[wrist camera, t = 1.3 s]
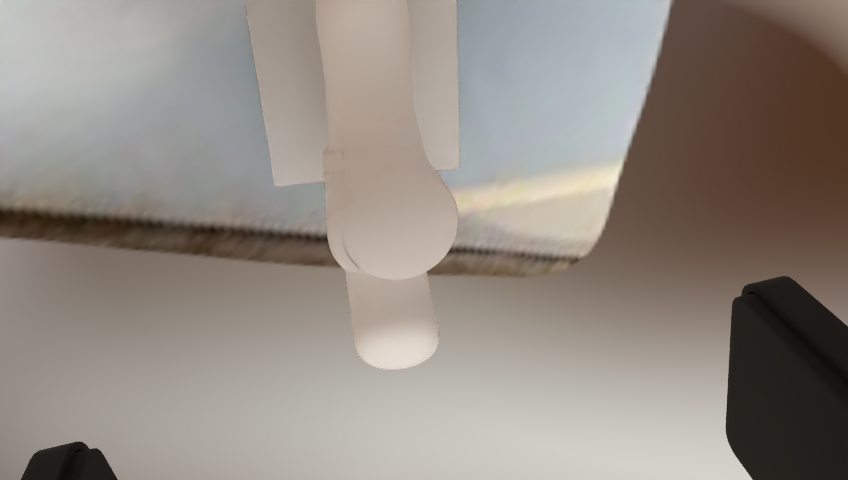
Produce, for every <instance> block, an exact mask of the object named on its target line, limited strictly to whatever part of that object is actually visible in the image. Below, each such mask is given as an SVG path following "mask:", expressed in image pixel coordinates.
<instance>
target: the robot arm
mask: <svg viewBox="0 0 848 480" xmlns="http://www.w3.org/2000/svg"><path fill="white" fill-rule="evenodd" d="M726 434H727V439H728V442H729V444H730V446H731V449H732V451H733V452H734V454H735V455H736V457H737V458H738V460H739V461H740V462H741V464H742V465H743V467H744V468H745V469H746V471H747V472H748V473H749V475H750V476H751V478H752V479H753V480H848V326H847V325H845V324H844V323H843V322H842V321H841V320H840V319H838V318H837V317H836V316H835V315H834V314H833V313H831V312H830V311H829V310H828V309H827V308H825V307H824V306H823V305H822V304H821V303H820V302H819V301H818V300H816V299H815V298H814V297H813V296H812V295H811V294H809V293H808V292H807V291H806V290H804V288H802V287H801V286H800V285H799V284H798V283H797V282H795V281H794V280H793V279H791V278H790V277H786V276H782V277H777V278H773V279H769V280H764V281H761V282H756V283H752V284H748V285H746V286H745V287H744V288H743V290H742V294H741V296H740V297H737V298H735V299H734V301H733V304H732V317H731V336H730V356H729V375H728V394H727V413H726ZM21 480H117V478H116V476H115V474H114V473H113V471H112V469H111V467H110V466H109V464H108V462H107V460H106V459H105V457H104V455H103V454H102V452H101V451H100V450H98V449H97V448H96V449H89V448H88V446H87V445H86V444H84V443H83V442H74V443H70V444H65V445H61V446H57V447H52V448H48V449H44V450H40V451H38V452H36V453H35V454H34V455H33V457H32V458H31V459H30V462H29V464H28V466H27V468H26V470H25V472H24V474H23V477H22V478H21Z"/></svg>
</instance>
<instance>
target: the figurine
mask: <svg viewBox="0 0 848 480" xmlns="http://www.w3.org/2000/svg"><path fill="white" fill-rule="evenodd" d="M244 3H245V9H246V15H247V21H248V27H249V33H250V39H251V45H252V51H253V57H254V63H255V69H256V75H257V81H258V88H259V94H260V100H261V106H262V112H263V118H264V124H265V130H266V136H267V142H268V148H269V154H270V160H271V166H272V172H273V178H274V184H275V187H277V186H287V185H297V184H307V183H317V182H324V183H325V190H326V198H325V211H326V221H327V236H328V242H329V247H330V250H331V252H332V254H333V257H334V258H335V259H336V261H337V262H338V264H339V265H340V266H341V267H342V268H343V269H344V270H345V273H346V283H347V289H348V297H349V305H350V313H351V322H352V333H353V341H354V345H355V348H356V351H357V353H358V354H359V356H360V357H361V358H362V359H363V360H364V361H365V362H366V363H368V364H369V365H371V366H373V367H377V368H381V369H390V370H395V369H404V368H409V367H412V366H415V365H418V364H420V363H422V362H424V361H425V360H427V359H428V358H429V357H430V356H431V355H432V354H433V353H434V351H435V350H436V348H437V346H438V343H439V327H438V323H437V318H436V315H435V311H434V307H433V303H432V298H431V294H430V289H429V283H428V278H427V272H426V271H428V270H430V269H431V268H432V267H434V266H435V265H436V264H438V263H439V262H440V261H441V260H442V259H443V258H444V257H445V255H446V254H447V253H448V251H449V250H450V248H451V246H452V244H453V242H454V240H455V237H456V234H457V230H458V220H459V219H458V209H457V206H456V202H455V200H454V198H453V196H452V194H451V192H450V191H449V189H448V188H447V186H446V185H445V183H444V182H443V180H442V179H441V177H440V176H439V174H438V173H437V171H438V170H448V169H458V168H460V148H459V100H458V52H457V4H456V0H244Z"/></svg>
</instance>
